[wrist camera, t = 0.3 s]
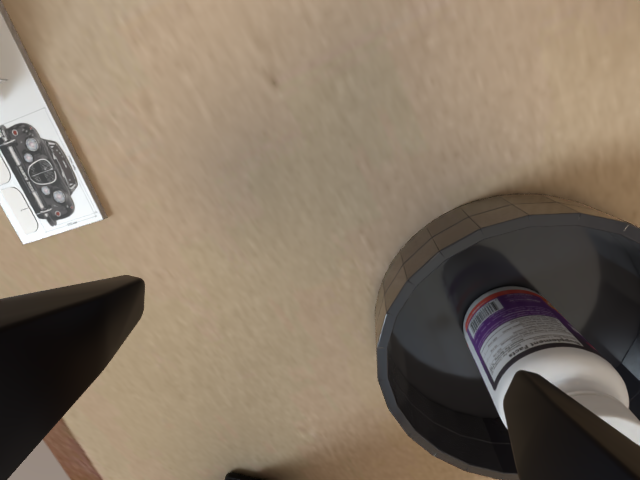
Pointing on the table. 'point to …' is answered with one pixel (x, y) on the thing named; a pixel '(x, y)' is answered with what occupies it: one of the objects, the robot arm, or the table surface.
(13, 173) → the white product box
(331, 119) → the table surface
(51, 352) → the robot arm
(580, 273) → the pan
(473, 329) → the pill bottle
